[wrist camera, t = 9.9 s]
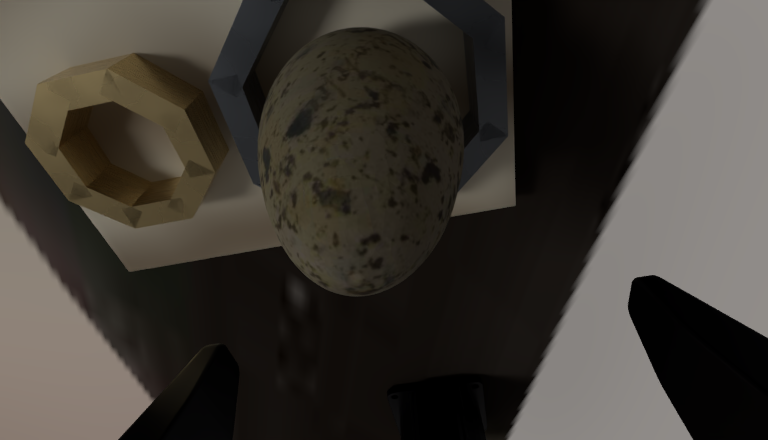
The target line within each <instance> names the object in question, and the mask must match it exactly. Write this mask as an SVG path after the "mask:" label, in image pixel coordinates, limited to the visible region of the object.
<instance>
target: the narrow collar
mask: <svg viewBox="0 0 768 440" xmlns="http://www.w3.org/2000/svg"><path fill="white" fill-rule="evenodd" d="M111 101H114V102H116V103H118V104H120V105H122V106H123V107H125V108H127V109H129V110H131V111H133V112H135V113H137V114H139V115H141V116H143V117H145V118H147V119H149V120H151V121H153V122H155V123H157V124H159V125H161V126H163V128H164V130H165V132H166V133H167V135H168V137H169V139H170V141H171V143H172V145H173V146H174V148H175V150H176V152H177V154H178V156H179V158H180V159H181V161H182V163H183V165H184V167H185V169H184V171H183V174H182V176H181V177H176V178H171V179H165V180H160V181H155V182H150V181H148V180H146V179H144V178H142V177H140V176H137V175H135V174H133V173H131V172H129V171H127V170H125V169H122V168H120V167H118V166H116V165H114V164H112V163H111V162H110V161H109V159H108V158H107V156H106V154H105V153H104V151H103V150H102V148H101V147H100V145H99V144H98V142H97V141H96V139H95V137H94V136H93V134H92V133H91V131H90V130H89V128H88V127H87V126H88V123H89V119H90V116H91V112H92V109H93V105H97V104H102V103H106V102H111ZM25 143H26V145H27V146H28V147H29V149H30V150H31V151H32V153H33V154H34V155H35V157H36V158H37V159H38V161H39V162H40V163H41V165H42V166H43V167H44V169H45V170H46V171H47V172H48V174H49V175H50V176H51V178H52V179H53V180H54V182H55V183H56V184H57V186H58V187H59V188H60V190H61V191H62V192H63V194H64V195H65V196H66V198H67V199H68V200H69V201H71V202H73V203H75V204H78V205H80V206H82V207H85V208H87V209H90V210H92V211H94V212H97V213H99V214H101V215H104V216H106V217H109V218H111V219H113V220H116V221H118V222H120V223H123V224H125V225H128V226H130V227H132V228H135V229H136V228H142V227H147V226H153V225H158V224H164V223H169V222H175V221H180V220H186V219H191V218H193V217H194V215H195V213H196V212H197V210H198V208H199V207H200V205H201V203H202V202H203V200H204V198H205V197H206V195H207V193H208V191H209V189H210V187H211V185H212V183H213V181H214V179H215V177H216V175H217V173H218V171H219V169H220V167H221V165H222V163H223V161H224V159H225V157H226V155H227V153H228V151H229V148H228V146H227V144H226V141H225V139H224V137H223V135H222V133H221V130H220V128H219V126H218V124H217V122H216V119H215V117H214V115H213V113H212V111H211V108H210V106H209V104H208V102H207V100H206V97H205V95H204V93H203V91H202V90H200V89H198V88H196V87H195V86H193V85H191V84H189V83H188V82H186V81H184V80H182V79H180V78H179V77H177V76H175V75H173V74H171V73H170V72H168V71H166V70H164V69H162V68H161V67H159V66H157V65H155V64H153V63H152V62H150V61H148V60H146V59H144V58H143V57H141V56H139V55H137V54H136V53H131V54H127V55H123V56H118V57H114V58H109V59H105V60H100V61H96V62H91V63H87V64H82V65H78V66H74V67H70V68H68V69H66V70H64V71H62V72H60V73H58V74H56V75H54V76H52V77H50V78H48V79H46V80H44V81H42V82H40V83H38V84H37V87H36V92H35V97H34V102H33V107H32V112H31V117H30V122H29V126H28V131H27V136H26V141H25Z"/></svg>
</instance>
